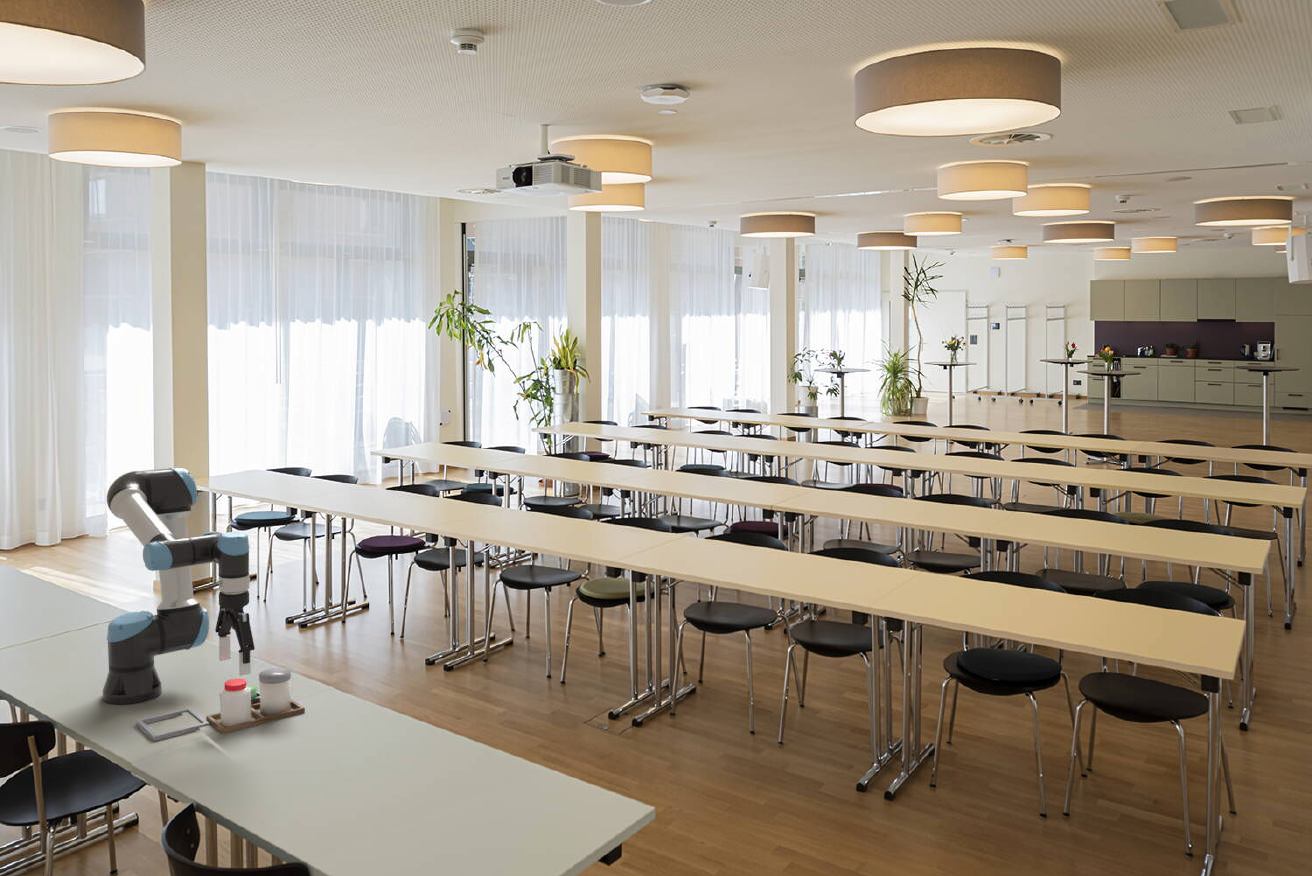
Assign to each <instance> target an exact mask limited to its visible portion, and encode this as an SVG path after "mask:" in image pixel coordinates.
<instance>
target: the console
mask: <svg viewBox="0 0 1312 876" xmlns="http://www.w3.org/2000/svg"><path fill="white" fill-rule="evenodd" d="M256 703H260V689H259V690H258V689H257V697H254V698H251V705H252V704H256Z"/></svg>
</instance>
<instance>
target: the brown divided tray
mask: <svg viewBox="0 0 1312 876" xmlns="http://www.w3.org/2000/svg"><path fill="white" fill-rule="evenodd" d="M305 712H306V708H305V707H304V706H302V705H301V704H299V703H298V702H296V701H295V700H294V699H292V698H291V710H290V711H287V712H283V713H279V714H275V715H271V716H263V715H262V714H260V703H256V704H252V705H251V721H248V722H244V723H240V724H236V725H232V726H228V727H227V726H223V725H222V724H221V719H220V712H217V713H213V714H209V715H208V714H207V715H206V718H205V720H207V721H208V722H209V723H210V724H209V725H212V726H213V727H214V728H216V729H217V730H218V731H219V732H220V733H222V735H223V734H227V733H231V732H235V731H239V730H242V729H246V728H251V727H254V726H258V725H263V724H266V723H268V722H273V721H278V720H281V719H284V718H287V717H288V718H289V717H292V716H295V715H299V714H304V713H305Z"/></svg>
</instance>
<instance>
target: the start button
mask: <svg viewBox="0 0 1312 876" xmlns="http://www.w3.org/2000/svg"><path fill="white" fill-rule="evenodd" d="M247 686H248V687H249V688H250V689H251V698H254V697H257V690H258V689H257V688H258V687H257V686H255V685H247Z"/></svg>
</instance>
